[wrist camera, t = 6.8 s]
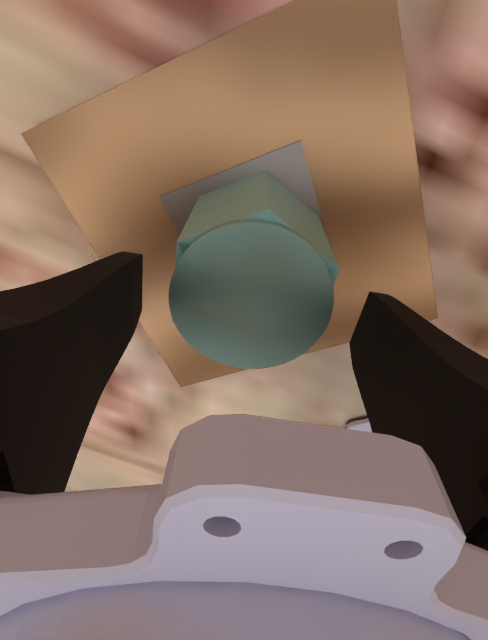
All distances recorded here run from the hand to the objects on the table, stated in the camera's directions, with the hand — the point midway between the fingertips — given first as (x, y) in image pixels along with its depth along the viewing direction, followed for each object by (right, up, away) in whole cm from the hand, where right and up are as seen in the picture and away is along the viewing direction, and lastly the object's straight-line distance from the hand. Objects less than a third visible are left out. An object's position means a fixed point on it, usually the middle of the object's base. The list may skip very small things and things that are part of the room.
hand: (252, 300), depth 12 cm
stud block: (0, +4, +5) cm, 7 cm away
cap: (0, +3, +4) cm, 5 cm away
